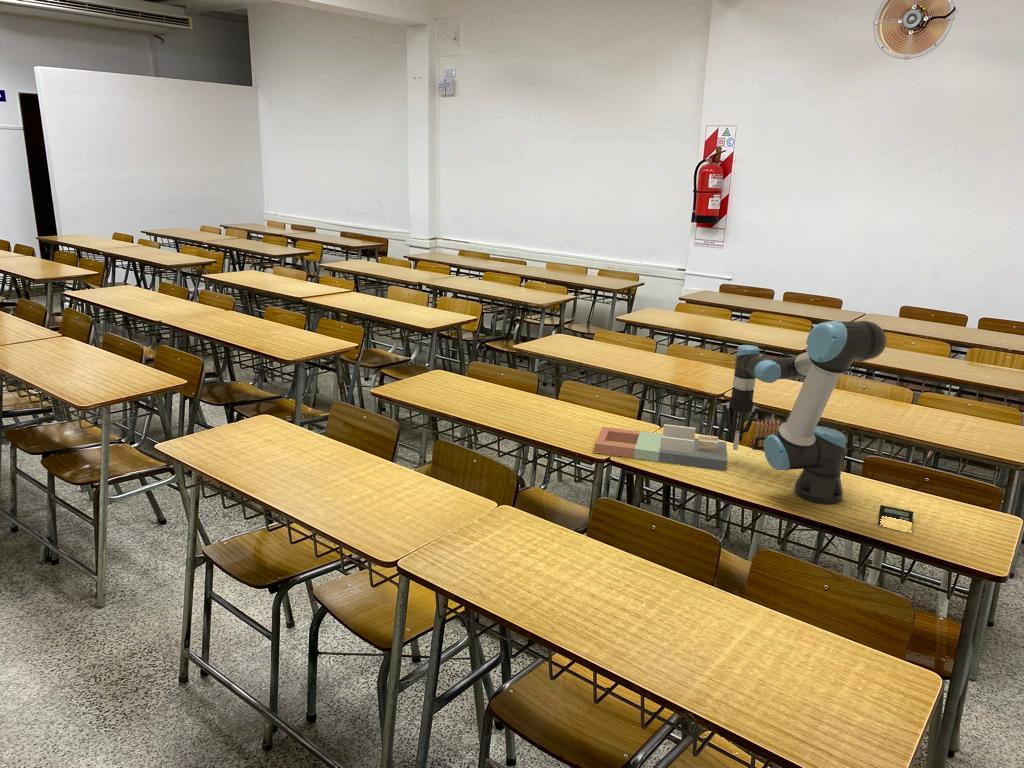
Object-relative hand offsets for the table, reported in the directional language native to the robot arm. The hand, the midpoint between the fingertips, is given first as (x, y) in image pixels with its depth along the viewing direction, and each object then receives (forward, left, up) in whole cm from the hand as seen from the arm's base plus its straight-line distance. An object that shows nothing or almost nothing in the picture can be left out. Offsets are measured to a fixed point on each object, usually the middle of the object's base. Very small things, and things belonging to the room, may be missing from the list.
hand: (735, 448), depth 265 cm
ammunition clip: (+20, -12, -6) cm, 24 cm away
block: (0, +10, -1) cm, 10 cm away
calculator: (-34, -48, -6) cm, 59 cm away
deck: (0, +27, -5) cm, 27 cm away
